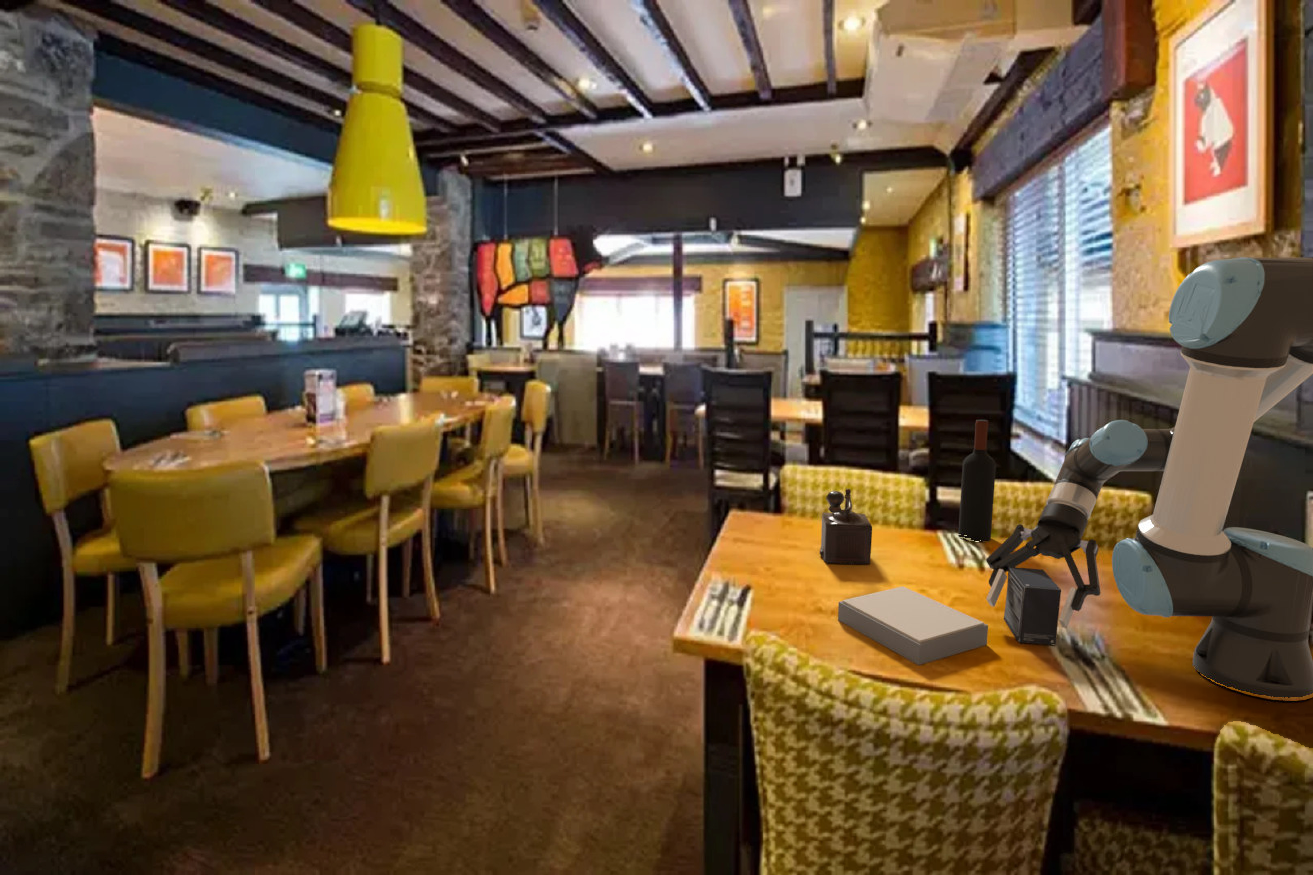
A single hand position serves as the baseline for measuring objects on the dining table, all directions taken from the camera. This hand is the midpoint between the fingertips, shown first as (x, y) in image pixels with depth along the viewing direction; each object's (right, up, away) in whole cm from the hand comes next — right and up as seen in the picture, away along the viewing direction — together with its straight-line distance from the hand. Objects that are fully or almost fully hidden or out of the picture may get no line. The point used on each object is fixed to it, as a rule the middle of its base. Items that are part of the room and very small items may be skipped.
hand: (1025, 613), depth 130 cm
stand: (-19, -4, +3) cm, 20 cm away
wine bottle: (+15, +6, +56) cm, 58 cm away
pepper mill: (-21, +2, +41) cm, 46 cm away
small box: (+2, -4, +3) cm, 5 cm away
